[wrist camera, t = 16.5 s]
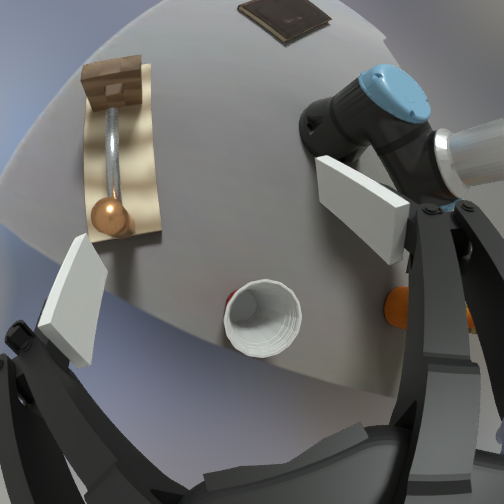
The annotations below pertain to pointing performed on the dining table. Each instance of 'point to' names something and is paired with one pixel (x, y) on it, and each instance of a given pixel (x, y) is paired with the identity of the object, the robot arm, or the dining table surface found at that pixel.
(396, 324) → the wine bottle
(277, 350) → the plastic cup
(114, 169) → the copper cylinder with rod
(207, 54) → the dining table surface
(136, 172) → the copper canister stand
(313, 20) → the hardcover book
